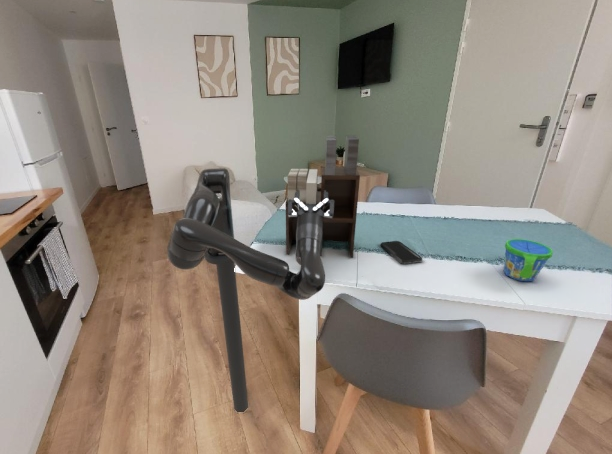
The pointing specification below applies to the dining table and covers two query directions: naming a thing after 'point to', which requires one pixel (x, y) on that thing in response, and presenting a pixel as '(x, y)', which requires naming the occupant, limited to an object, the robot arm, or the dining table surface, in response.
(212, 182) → the robot arm
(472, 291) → the dining table surface
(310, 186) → the white book
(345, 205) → the bookcase
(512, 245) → the snack cup
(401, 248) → the phone
